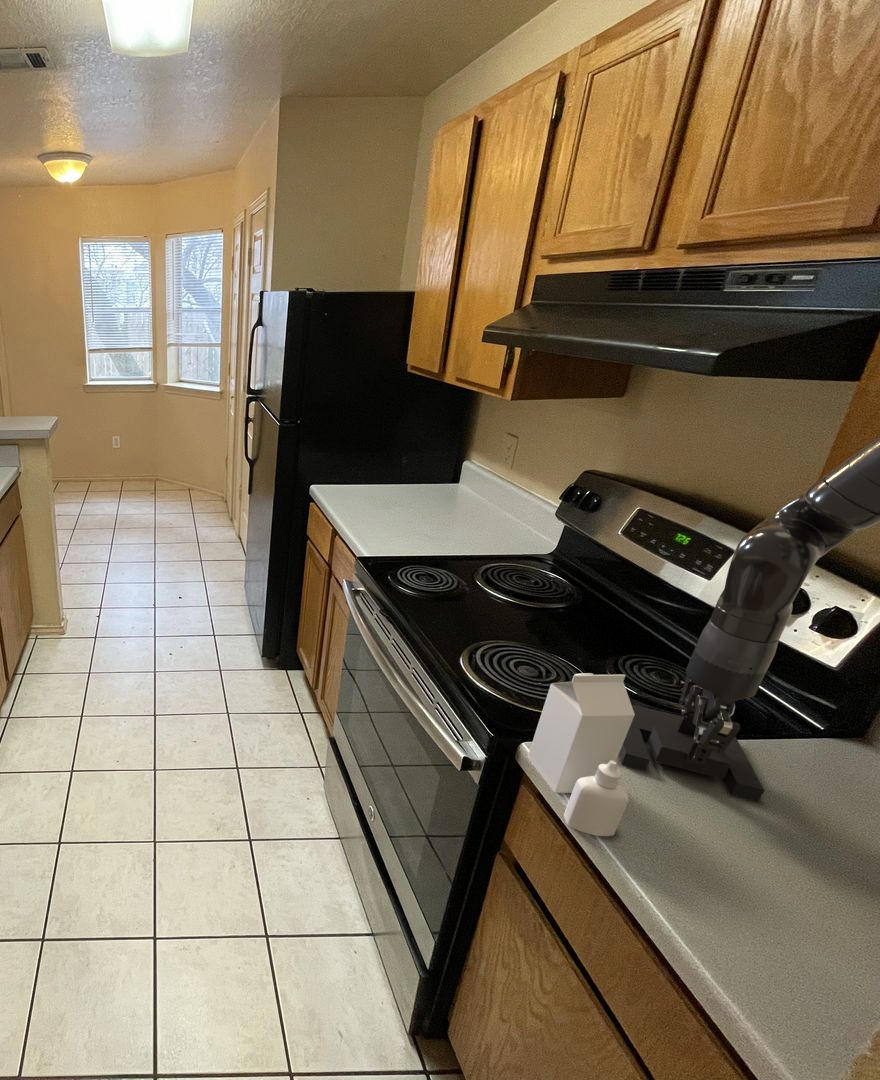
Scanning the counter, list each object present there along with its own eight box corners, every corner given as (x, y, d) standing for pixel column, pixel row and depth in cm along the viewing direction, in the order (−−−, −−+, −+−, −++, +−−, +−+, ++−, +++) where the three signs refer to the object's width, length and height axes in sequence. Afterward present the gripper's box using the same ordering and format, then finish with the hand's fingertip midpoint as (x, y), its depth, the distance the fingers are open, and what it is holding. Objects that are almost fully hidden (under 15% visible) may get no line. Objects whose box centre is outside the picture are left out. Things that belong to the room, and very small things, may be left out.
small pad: (712, 756, 90) (720, 741, 89) (723, 779, 86) (731, 764, 85) (647, 740, 93) (653, 725, 92) (655, 761, 89) (661, 746, 88)
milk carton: (602, 796, 86) (644, 691, 78) (553, 797, 86) (591, 692, 78) (571, 759, 92) (607, 659, 85) (525, 760, 92) (557, 660, 85)
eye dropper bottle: (568, 807, 84) (592, 742, 79) (615, 831, 80) (643, 765, 76) (558, 825, 81) (583, 759, 77) (607, 851, 78) (636, 783, 73)
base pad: (723, 742, 95) (731, 727, 94) (756, 805, 84) (764, 790, 83) (604, 712, 102) (610, 699, 101) (619, 768, 91) (625, 753, 89)
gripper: (788, 693, 74) (737, 792, 81) (747, 636, 86) (706, 727, 93) (712, 677, 78) (669, 774, 84) (683, 624, 89) (647, 713, 96)
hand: (688, 749), depth 89 cm, fingers closed on small pad, 5 cm apart
